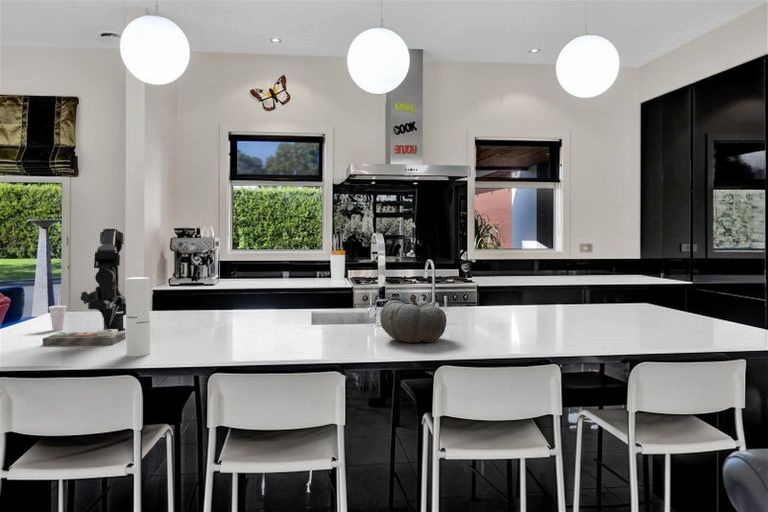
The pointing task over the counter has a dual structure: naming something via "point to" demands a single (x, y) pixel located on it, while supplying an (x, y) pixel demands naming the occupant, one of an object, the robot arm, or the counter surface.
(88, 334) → the tile one
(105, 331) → the tile three
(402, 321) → the gourd
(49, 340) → the tile board
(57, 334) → the tile two
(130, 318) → the cylindrical container
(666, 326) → the counter surface
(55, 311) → the smoothie
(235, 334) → the counter surface
